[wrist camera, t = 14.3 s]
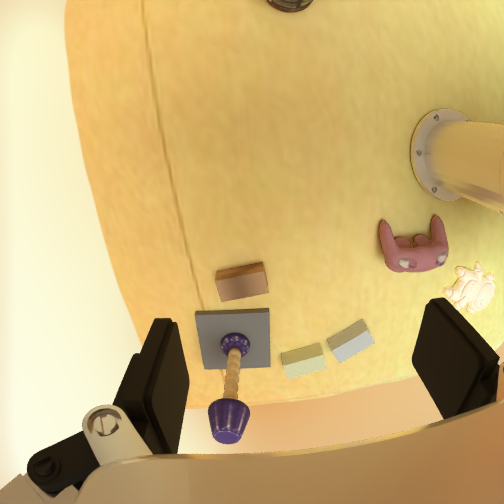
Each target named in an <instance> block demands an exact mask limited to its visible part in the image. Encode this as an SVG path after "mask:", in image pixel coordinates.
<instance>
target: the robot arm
mask: <svg viewBox="0 0 504 504" xmlns="http://www.w3.org/2000/svg"><path fill="white" fill-rule="evenodd" d="M416 151H417V153H416ZM411 163H412V167H413V171H414V174H415V176H416V178H417V180H418V182H419V183H420V185H421V187H422V188H423V189H424V190H425V191H426V192H427V193H429V194H430V195H431V196H433V197H435V198H437V199H440V200H444V201H455V200H459V199H461V198H463V197H464V198H467V199H469V200H471V201H474V202H476V203H478V204H481V205H483V206H485V207H487V208H489V209H492V210H494V211H496V212H498V213H500V214H502V215H504V125H502V124H493V123H482V122H471V120H470V119H469V118H467V117H466V116H465V115H464V114H462V113H460V112H459V111H456V110H453V109H438V110H435V111H432V112H430V113H429V114H427V115H426V116H425V117H424V118H423V119H422V120H421V121H420V122H419V124H418V126H417V127H416V129H415V132H414V134H413V138H412V142H411ZM499 358H500V357H499V356H498V355H497V354H496V353H495V351H494V350H493V349H492V348H491V347H490V346H489V344H488V343H487V342H486V341H485V340H484V339H483V338H482V337H481V335H480V334H479V333H478V332H477V331H476V330H475V329H474V328H473V327H472V326H471V324H470V323H469V322H468V321H467V320H466V319H465V318H464V317H463V316H462V315H461V314H460V313H459V312H458V311H457V310H456V309H455V308H454V307H453V305H452V304H451V303H450V302H449V301H448V300H447V299H446V298H443V297H442V298H435V299H431V300H430V301H429V303H428V304H427V305H426V307H425V311H424V315H423V319H422V323H421V327H420V331H419V334H418V338H417V342H416V345H415V348H414V352H413V355H412V364H413V366H414V368H415V369H416V371H417V373H418V375H419V376H420V378H421V380H422V381H423V383H424V385H425V386H426V388H427V390H428V392H429V393H430V395H431V397H432V399H433V400H434V402H435V404H436V406H437V408H438V410H439V411H440V413H441V415H442V417H443V419H444V420H441V421H438V422H435V423H431V424H428V425H424V426H421V427H417V428H414V429H410V430H406V431H402V432H398V433H394V434H390V435H385V436H381V437H376V438H372V439H366V440H362V441H356V442H351V443H345V444H338V445H332V446H325V447H318V448H310V449H301V450H292V451H279V452H266V453H243V454H177V452H178V445H179V439H180V434H181V429H182V423H183V416H184V412H185V406H186V401H187V395H188V390H189V375H188V370H187V366H186V362H185V357H184V353H183V348H182V344H181V339H180V334H179V329H178V325H177V323H176V322H172V320H171V318H155V319H154V321H153V323H152V326H151V328H150V330H149V333H148V335H147V338H146V340H145V342H144V345H143V347H142V350H141V352H140V354H139V353H135V354H134V355H133V356H132V358H131V361H130V363H129V365H128V368H127V370H126V372H125V375H124V377H123V380H122V382H121V385H120V387H119V389H118V392H117V395H116V397H115V399H114V402H113V405H101V406H97V407H95V408H93V409H92V410H90V411H89V412H88V413H87V414H86V415H85V417H84V419H83V423H82V427H83V431H81V432H79V433H77V434H75V435H73V436H71V437H69V438H67V439H65V440H62V441H60V442H58V443H56V444H54V445H52V446H50V447H47V448H45V449H43V450H41V451H39V452H37V453H36V454H34V455H33V456H32V457H31V458H30V460H29V462H28V464H27V473H26V474H25V475H24V476H22V475H21V474H19V475H18V476H17V477H15V478H14V479H13V480H12V481H11V482H9V483H8V484H7V485H6V486H5V487H3V488H2V489H1V490H0V504H504V362H503V363H502V364H501V365H500V366H499V365H498V361H499Z"/></svg>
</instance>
